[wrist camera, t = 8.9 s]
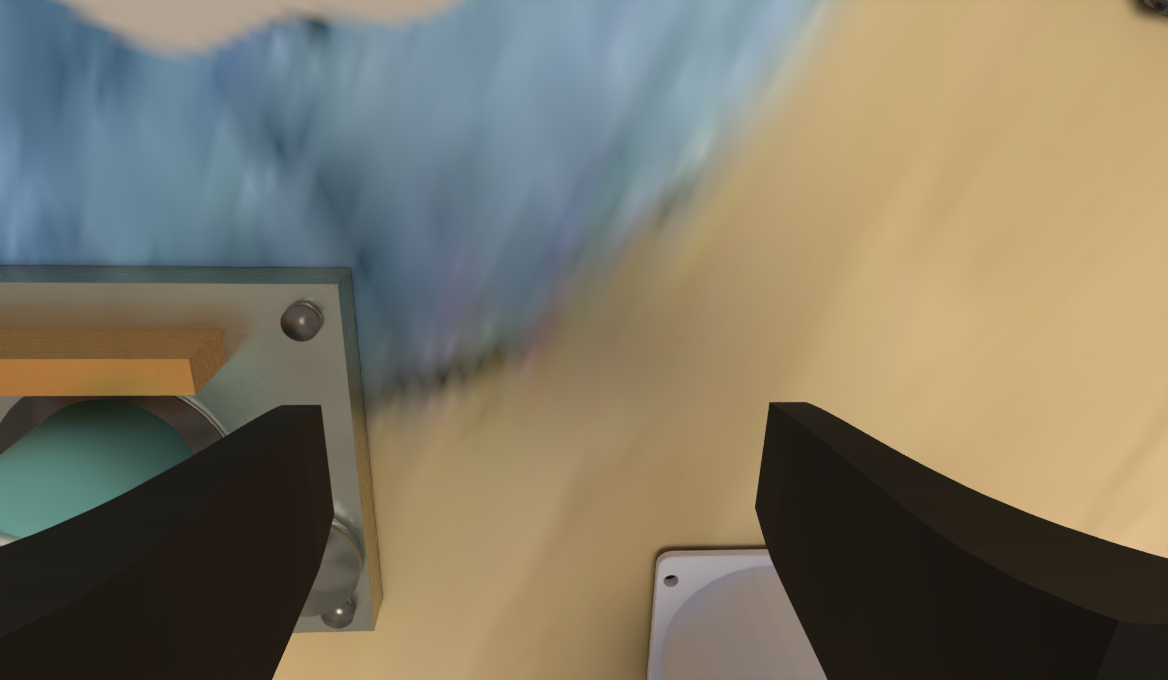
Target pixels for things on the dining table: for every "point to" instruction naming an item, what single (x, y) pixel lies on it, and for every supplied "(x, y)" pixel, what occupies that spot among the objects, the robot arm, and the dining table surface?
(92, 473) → the spout can
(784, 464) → the robot arm
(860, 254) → the dining table surface
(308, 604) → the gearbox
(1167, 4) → the stone
